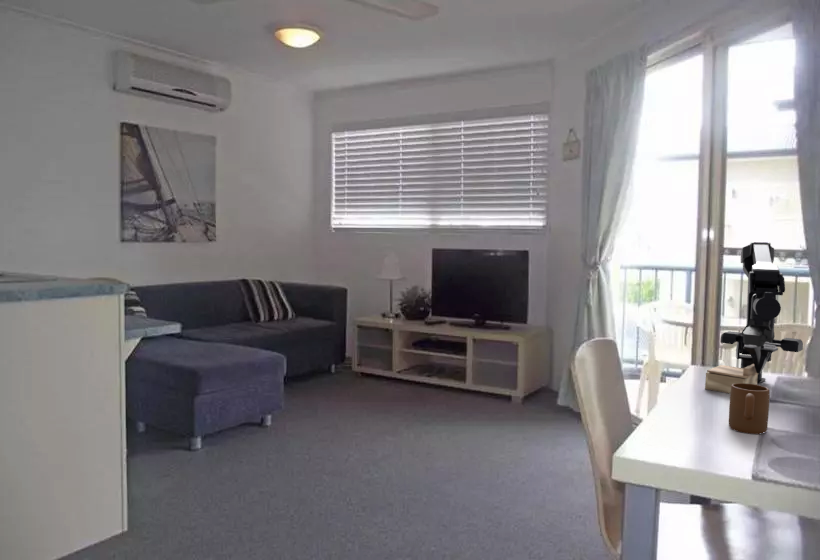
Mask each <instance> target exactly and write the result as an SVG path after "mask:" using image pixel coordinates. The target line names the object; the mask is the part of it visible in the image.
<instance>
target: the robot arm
mask: <svg viewBox="0 0 820 560" xmlns="http://www.w3.org/2000/svg"><path fill="white" fill-rule="evenodd" d="M771 245H772V244H771V242H768V241H762V240H761V241H759V240H758V241H757V240H755V241H751V242H750V243H749V244H748V245H746V246H743V247H742V248H741V251H740V252H741V253H740V263H741V264H742V271H743V273H744V274H745V276H746V277H747V298H746V301H747V302H746V304H747V305H746V323H745V324H746V325H745V327H744V328H743V329H742V331H740V332H739V331H732V330H729V331H725V332H722V334H721V336H720V343H722V344H728V345H733V344H735V343H736V342H737V343H736V348H735V358H736V359H737V360H740V368H745V367H747V366H750V365H752V364H754V366H755V369H756V372H757V373H759V374H758V378H757V384H761V383H763V382H765V381H766V380H767V379H766V377H763V370H764V368H765V366H766V364H767V362H771V360H772V354H773V353H775V352H778V350H779V348H781V350H782V351H784V352H790V353H799V352H801V351H803V349H804V341H803V340H802V339H800V338H791V337H784V338H782V339H776V338H775V323H776V319H775V318H777V317H778V316H779V315H780V313H781V310H782V307H781V304H780V302H779V301H778V300H777V296H783V295H784V293H785V292H786V284H785V282H786V281H785V277H784V274H783V272H781V271H780V268H779V266H778V265H776V264H774V261H775V248H774V247H773V246H771Z"/></svg>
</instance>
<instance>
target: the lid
mask: <svg viewBox="0 0 820 560" xmlns="http://www.w3.org/2000/svg"><path fill="white" fill-rule="evenodd" d="M707 372H710V373H716V374H722V375H729V376H735V377H741V378H750V377H753V376H755V375H757V374H759V373H757V372H756V369H755V366H754V364H752V365H750V366H747V367H745V368H741V367H739V366H738V367H737V366H732V365H723V364H720V365H718V366H714V367H713V368H709V369H707V370H706V373H707Z"/></svg>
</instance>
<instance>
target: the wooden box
mask: <svg viewBox="0 0 820 560" xmlns="http://www.w3.org/2000/svg"><path fill="white" fill-rule="evenodd" d="M757 378H758V374H757V375H755V376H753V377H750V378H741V377H739V378H737V377H731V376H724V375H718V374H716V373H710V372H707V371H706V372H705V384H704V385H705V386H704V389H705V390H708V391H713V392H720V393H724V394H725V393H726V394H730V392H731V386H732V384H737V383H745V384H754V385H758V383H757Z"/></svg>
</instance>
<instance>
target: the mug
mask: <svg viewBox="0 0 820 560" xmlns="http://www.w3.org/2000/svg"><path fill="white" fill-rule="evenodd" d="M729 395H730V396H729V406H728V407H729V409H728V427H729V428H730V429H732V430H733V431H736V432H738V433H743V434H749V435H761V434H760V433H763V432H765V433H766V432H767V431H768V425H769V424H768V423H769V411H770V395H771V394H770V389H769V387H766V386H764V385H761V384H760V385H759V384H757V385H754V384H745V383H737V384H732V386H731V392H730V393H729ZM763 434H764V433H763Z"/></svg>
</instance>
